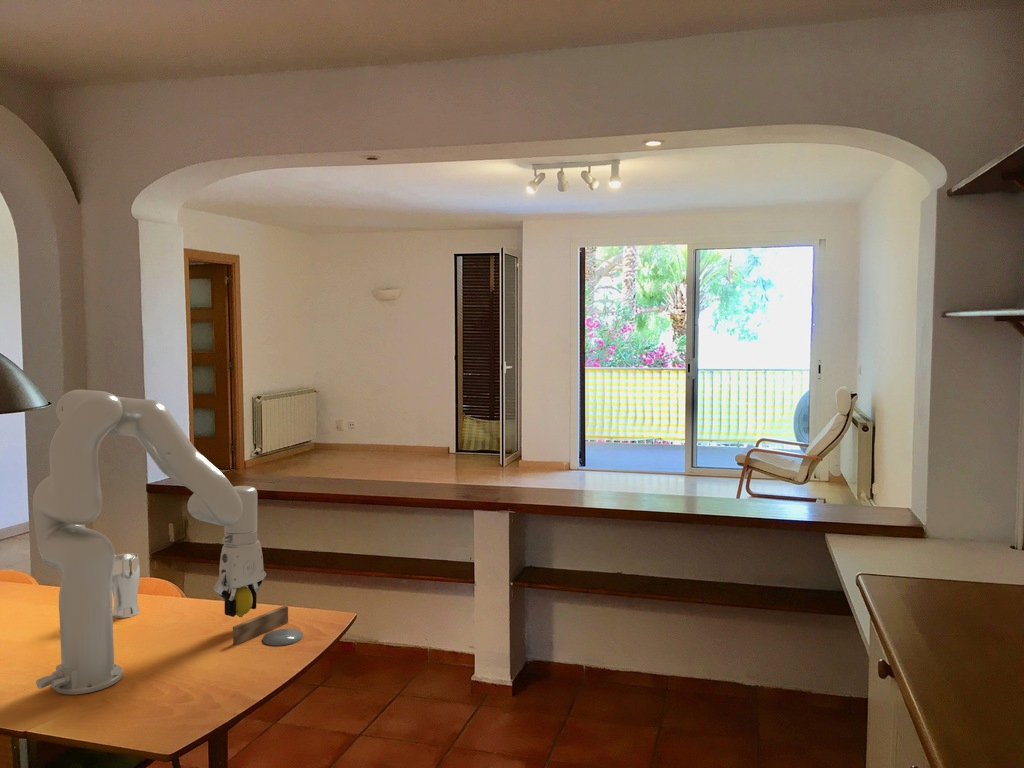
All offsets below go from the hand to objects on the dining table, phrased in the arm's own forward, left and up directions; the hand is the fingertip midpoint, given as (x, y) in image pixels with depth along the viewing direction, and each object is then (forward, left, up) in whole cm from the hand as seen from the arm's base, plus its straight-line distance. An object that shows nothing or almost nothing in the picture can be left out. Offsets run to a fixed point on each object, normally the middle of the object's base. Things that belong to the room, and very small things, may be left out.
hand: (240, 610), depth 186 cm
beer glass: (-7, +34, -5) cm, 35 cm away
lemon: (0, 0, -2) cm, 2 cm away
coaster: (+1, -13, -4) cm, 14 cm away
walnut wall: (+1, -6, -4) cm, 8 cm away
